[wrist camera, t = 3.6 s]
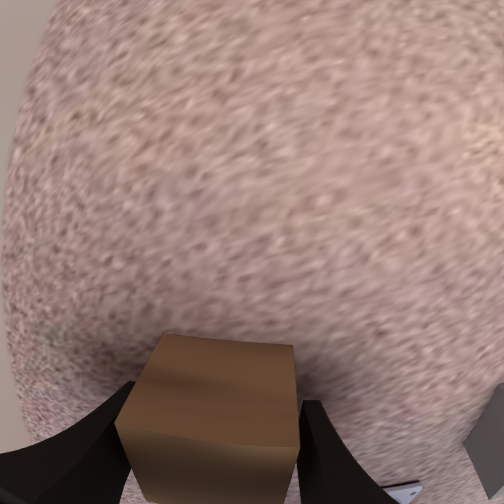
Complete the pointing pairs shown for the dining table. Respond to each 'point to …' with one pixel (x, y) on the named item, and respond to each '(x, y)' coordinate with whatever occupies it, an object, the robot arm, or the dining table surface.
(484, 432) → the slate cube
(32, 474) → the robot arm
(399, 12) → the dining table surface
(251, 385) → the walnut cube
